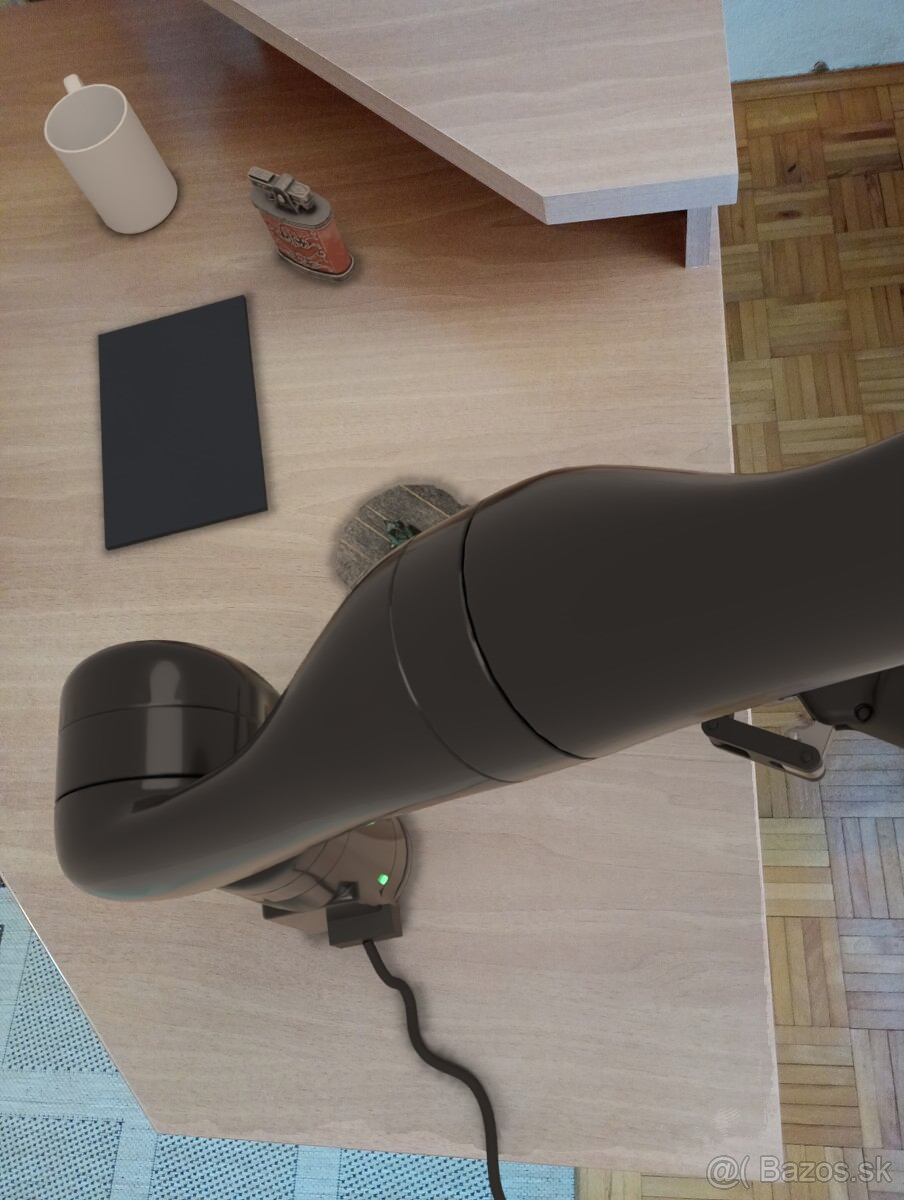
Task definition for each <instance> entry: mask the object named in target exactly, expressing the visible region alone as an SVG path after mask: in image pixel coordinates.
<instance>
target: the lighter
mask: <svg viewBox="0 0 904 1200" xmlns="http://www.w3.org/2000/svg"><path fill="white" fill-rule="evenodd" d="M247 177H248V179H249V182H250V184H251V185H252V188H251V189H250V192H249V199H250V201H251V203H252V205H253V206H254V207H255V209H257V210H258V212H259V214H260V216H261V218H262V219H263V221H264V223H265V225H266V228H267V229H268V231H269V233H270V235H271V237H272V239H273V241H274V242H275V244H276V251H277V253H278V255H279V257H280V260H282V261H283V262H284V263H286V264H287V265H289V266H290V267H292V268H293V269H295V270H297V271H299V272H300V273H303V274H304V275H307V276H310V277H312V278H316V279H319V280H322V281H326V282H331V283H337V284H338V283H339V284H340V283H345V282H347V281H349V280H351V278H352V277H353V276H354V275H355V273H356V270H357V264H356V262H355V259H354V257H353V255H352V254H350V253H349V251H348V249H347V246H346V244H345V242H344V239H343V237H342V235H341V232H340V230H339V228H338V225H337V223H336V221H335V218H334V210H333V208H332V205H331V203H330V202H329V201H328V200H327V199H325V198H324V197H322V196H321V195H319V194H318V193H316V192H314V191H312V190H311V189H310V187H309V186H308V185H306V184H303V183H301V182H299V181H298V180H297V179H296V178H295V177H294V176H293V175H291V174H290V173H287V172H283V173H282V175H279V174H277V173H274V172H272V171H268V170H266V169H263V168H260V167H258V166H252V167H251V168H250V170H248V173H247Z"/></svg>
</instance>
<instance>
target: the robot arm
mask: <svg viewBox="0 0 904 1200" xmlns="http://www.w3.org/2000/svg"><path fill="white" fill-rule="evenodd" d="M797 701H800V703H801V704H802V706H803V707H804V709H805V710H806V711H807V713H808V715H809V716H810V718H811V720H812V721H813V723H812V724H811V725H809V726H808V727H804V728H803V727H802V728H801V727H791V728H788V729H787V730H785V732H784V733H783V735H781V734H778V733H776V732H773V731H770V730H766V729H764V728H761V727H758V726H754V725H752V724H749V723H746V722H744V721H740V720H737V719H735V713H738V712H741V711H745V710H749V709H753V708H758V707H763V708H771V707H777V706H780V705H781V706H782V705H784V704H788V703H793V702H797ZM58 711H59V713H58V728H57V743H56V744H57V745H56V746H57V748H56V764H55V765H56V768H55V782H54V783H55V784H54V785H55V786H54V806H53V810H54V812H53V838H54V839H53V840H54V847H55V852H56V856H57V861H58V864H59V866H60V869H61V871H62V873H63V874H64V876H65V878H67V879H68V880H69V881H70V882H71V884H73V886H75V887H76V888H77V889H79V890H80V891H82V892H84V893H86V894H88V895H90V896H94V897H97V898H99V899H101V900H106V901H110V902H111V901H112V902H117V903H118V902H119V903H129V904H130V903H154V902H161V901H163V902H164V901H170V900H175V899H181V898H185V897H190V896H195V895H198V894H202V893H205V892H209V891H212V890H218V891H222V892H224V893H228V894H231V895H233V896H237V897H240V898H242V899H246V900H249V901H252V902H255V903H258V904H260V905H261V914H262V918H263V919H264V920H265V921H267V922H270V923H273V924H277V925H281V926H285V927H287V928H291V929H294V930H297V931H300V932H304V933H308V934H310V935H318V934H324V933H327V935H328V944H329V946H330V947H334V948H337V949H345V948H351V947H357V946H361V945H362V947H363V948H364V950H365V953H366V955H367V958H368V959H369V961H370V964H371V966H372V968H373V969H374V971H375V973H376V975H377V976H378V977H379V978H380V980H381V981H382V982H383V983H384V984H385V985H386V986H387V987H388V988H390V989H393V990H396V991H398V992H399V994H400V995H401V997H402V1000H403V1003H404V1008H405V1014H406V1015H405V1016H406V1017H405V1018H406V1026H407V1032H408V1036H409V1040H410V1043H411V1046H412V1047H413V1049H414V1051H415V1052H416V1054H417V1055H418V1056H419V1058H420V1059H421V1060H422V1061H424V1063H426V1064H427V1065H428V1066H430V1067H431V1068H433V1069H435V1070H436V1071H439V1072H441V1073H444V1074H446V1075H449V1076H451V1077H453V1078H455V1079H457V1080H459V1081H461V1082H462V1083H463V1084H465V1085H466V1086H467V1088H469V1090H470V1091H471V1092H472V1094H473V1096H474V1098H475V1099H476V1103H477V1104H478V1107H479V1110H480V1113H481V1117H482V1121H483V1127H484V1135H485V1136H484V1137H485V1153H486V1167H487V1176H488V1183H489V1188H490V1192H491V1195H492V1199H493V1200H507V1198H506V1195H505V1192H504V1189H503V1184H502V1181H501V1179H502V1178H501V1172H500V1161H499V1144H498V1133H497V1124H496V1119H495V1113H494V1110H493V1106H492V1103H491V1101H490V1098H489V1096H488V1094H487V1091H486V1090H485V1088H484V1086H483V1085H482V1083H481V1082H480V1080H478V1079H479V1078H477V1077H476V1076H475V1075H474V1074H473V1073H472V1072H470V1071H469V1070H468V1069H466V1068H464V1067H463V1066H460V1065H458V1064H456V1063H454V1062H451V1061H449V1060H447V1059H445V1058H441V1057H440V1056H438V1055H436V1054H435V1053H434V1052H432V1051H431V1050H430V1049H429V1048H428V1046H427V1045H426V1044H425V1042H424V1040H423V1038H422V1036H421V1031H420V1028H419V1019H418V1009H417V1003H416V999H415V996H414V993H413V991H412V989H411V986H410V985H409V984H408V983H407V982H406V981H405V980H404V979H402V978H400V977H397V976H394V975H393V974H392V973H391V972H390V971H389V969H388V968H387V966H386V964H385V963H384V960H383V959H382V956H381V955H380V952H379V950H378V947H377V946H376V944H375V943H376V942H381V941H385V940H391V939H397V938H401V937H403V936H404V934H403V933H404V932H403V926H402V918H401V912H400V907H399V906H397V905H398V902H397V901H398V899H399V898H400V896H401V895H402V893H403V891H404V889H405V887H406V885H407V882H408V879H409V876H410V873H411V868H412V867H411V866H412V858H413V857H412V856H413V855H412V844H411V843H412V842H411V838H410V836H409V832H408V830H407V827H406V825H405V823H404V820H402V818H401V817H400V816H403V815H407V814H410V813H412V812H416V811H421V810H423V809H427V808H430V807H434V806H436V805H441V804H443V803H448V802H452V801H454V800H459V799H461V798H465V797H466V798H467V797H469V796H474V795H477V794H481V793H485V792H489V791H493V790H496V789H500V788H505V787H507V786H511V785H516V784H519V783H523V782H527V781H531V780H533V779H536V778H537V779H538V778H540V777H543V776H546V775H550V774H553V773H556V772H559V771H562V770H566V769H568V768H572V767H575V766H579V765H582V764H584V763H588V762H591V761H595V760H597V759H601V758H604V757H608V756H610V755H613V754H615V753H619V752H622V751H624V750H626V749H629V748H632V747H635V746H637V745H640V744H642V743H645V742H648V741H650V740H653V739H657V738H659V737H662V736H664V735H667V734H670V733H673V732H675V731H679V730H682V729H685V728H688V727H692V726H695V725H698V724H700V729H701V730H702V732H703V734H704V735H705V736H707V738H708V739H709V742H710V743H711V745H712V746H713V747H715V748H716V749H717V750H721V751H723V752H726V753H729V754H732V755H734V756H737V757H741V758H743V759H745V760H749V761H752V762H754V763H756V764H760V765H763V766H766V767H768V768H771V769H774V770H777V771H779V772H782V773H785V774H788V775H791V776H793V777H796V778H799V779H802V780H805V781H807V782H810V783H816V782H819V781H822V779H824V777H825V775H826V773H827V767H826V764H825V760H826V758H827V755H828V753H829V750H830V747H831V745H832V742H833V740H834V736H835V734H836V732H839V731H840V732H841V731H854V732H859V733H861V734H862V733H863V734H865V735H867V736H870V737H872V738H874V739H877V740H880V741H882V742H885V743H888V744H891V745H892V746H895V747H898V748H900V749H903V750H904V430H902V431H899V432H896V433H895V434H892V435H889V436H887V437H885V438H882V439H879V440H877V441H875V442H873V443H870V444H868V445H865V446H862V447H860V448H857V449H855V450H853V451H850V452H847V453H844V454H841V455H837V456H833V457H830V458H827V459H824V460H820V461H817V462H814V463H810V464H806V465H805V464H804V465H801V466H796V467H790V468H786V469H782V470H781V469H780V470H775V471H763V472H762V471H761V472H748V473H745V472H718V471H705V470H696V469H695V470H694V469H684V468H672V467H660V466H648V465H634V464H588V465H587V464H586V465H575V466H565V467H560V468H556V469H555V468H554V469H550V470H547V471H545V472H541V473H539V474H536V475H533V476H530V477H528V478H525V479H522V480H520V481H517V482H515V483H513V484H511V485H509V486H506V487H504V488H502V489H499V490H498V491H496V492H494V493H492V494H490V495H488V496H487V497H484V498H483V499H481V500H479V501H477V502H475V503H473V504H471V505H469V507H468V508H466V509H464V510H462V511H460V512H458V513H456V514H454V515H453V516H451V517H449V518H447V519H445V520H443V521H441V522H439V523H438V524H436V525H434V526H432V527H430V528H428V529H427V530H424V531H423V532H421V533H419V534H417V535H415V536H414V537H412V538H410V539H409V540H407V541H406V542H404V543H402V544H401V545H400V546H398V547H397V548H395V549H394V550H392V551H391V552H390V553H388V554H387V555H386V556H384V557H383V558H382V559H381V560H379V561H378V562H377V563H376V564H375V565H374V566H373V567H372V568H371V569H370V570H369V571H368V572H367V573H366V574H365V576H364V577H363V578H362V579H361V580H360V582H359V583H358V584H357V585H356V586H355V587H354V589H353V590H352V589H351V591H350V592H349V593H348V595H347V596H346V597H345V598H344V600H343V601H342V602H341V603H340V605H339V606H338V607H337V609H336V610H334V613H333V614H332V616H331V617H330V618H329V620H328V621H327V623H326V624H325V626H324V627H323V628H322V631H320V633H319V635H318V636H317V637H316V639H315V641H314V642H313V644H312V645H311V648H309V650H308V652H307V653H306V655H305V656H304V658H303V660H302V661H301V664H300V665H299V667H298V668H297V670H296V671H295V672H294V674H293V676H292V678H291V679H290V681H289V682H288V684H287V685H286V687H285V689H284V690H283V692H282V693H280V692H279V691H278V690H277V689H276V688H275V687H274V686H273V685H272V684H271V683H270V682H269V681H268V680H267V679H266V678H265V677H263V676H262V675H261V674H260V673H259V672H257V671H256V670H254V669H253V668H252V667H251V666H249V665H248V664H246V663H244V662H243V661H241V660H239V659H237V658H235V657H233V656H231V655H229V654H226V653H224V652H221V651H219V650H216V649H214V648H211V647H208V646H204V645H201V644H197V643H194V642H193V643H192V642H187V641H180V640H173V639H143V640H133V641H132V640H131V641H126V642H122V643H117V644H114V645H111V646H107V647H105V648H102V649H100V650H98V651H96V652H94V653H92V654H91V655H89V656H87V657H86V658H84V659H83V660H82V661H80V662H79V663H78V664H77V665H76V666H75V667H74V668H73V669H72V670H71V672H70V673H69V674H68V676H67V677H66V679H65V681H64V683H63V686H62V688H61V693H60V699H59V710H58Z"/></svg>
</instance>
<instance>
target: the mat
mask: <svg viewBox="0 0 904 1200" xmlns="http://www.w3.org/2000/svg"><path fill="white" fill-rule="evenodd" d="M246 298H247V297H245V294H241V295H237V296H234V297H230V298H227V299H222V300H220V301H216V302H212V303H208V304H204V305H202V306H198V307H197V306H196V307H193V308H191V309H187V310H183V311H179V312H176V313H173V314H169V315H165V316H162V317H159V318H155V319H152V320H148V321H147V320H146V321H144V322H140V323H137V324H132V325H129V326H126V327H123V328H118V329H116V330H111V331H108V332H104V333H101V334H98V335H97V336H98V337H97V339H98V343H97V344H98V345H97V347H98V369H99V370H98V372H99V374H98V375H99V398H100V399H99V405H100V406H99V407H100V432H101V433H100V435H101V463H102V464H101V465H102V493H103V494H102V495H103V497H102V499H103V523H104V524H103V526H104V548H105V549H106V550H107V551H111V550H115V549H120V548H124V547H127V546H131V545H136V544H139V543H143V542H148V541H151V540H155V539H159V538H163V537H167V536H171V535H175V534H179V533H183V532H187V531H191V530H195V529H199V528H203V527H207V526H210V525H215V524H217V523H223V522H226V521H230V520H234V519H240V518H243V517H246V516H250V515H253V514H259V513H263V512H266V511H268V510H269V508H268V507H269V506H268V497H267V490H266V489H267V488H266V479H265V470H264V459H263V450H262V442H261V441H262V440H261V430H260V422H259V421H260V420H259V412H258V404H257V392H256V383H255V375H254V373H255V372H254V363H253V356H252V355H253V354H252V346H251V345H252V344H251V337H250V327H249V317H248V309H247V307H248V306H247V299H246Z"/></svg>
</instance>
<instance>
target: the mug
mask: <svg viewBox="0 0 904 1200" xmlns="http://www.w3.org/2000/svg"><path fill="white" fill-rule="evenodd" d="M63 85H64V88H65V90H66V92H67V95H65V96H63V97H62V98H61V99H60V100H59V101H58V102H57V103H56V104H54V106H53V107H52V109H51V110H50V112H48V115H47V117H46V119H45V121H44V128H43V133H44V138H45V141H46V142H47V143H48V145H49V146H50V147H51V149H52V151H53V152H54V153H55V155H56V156H57V158H58V159H59V160H60V162H61V163H62V165H63V166H64V167H65V170H67V172H68V174H69V175H70V176H71V178H72V179H73V180H74V182H75V183H76V184H77V186H78V188H79V189H80V190H81V192H82V193H83V194H84V196H85V197H86V198H87V200H88V201H89V203H90V204H91V205H92V207H93V208H94V210H95V211H96V212H97V214H98V215H99V217H100V218H101V220H102V221H103V223H104V224H105V225H106V226H107V227H108V228H109V229H111V230H112V231H114V232H116V233H119V234H123V235H133V234H134V235H136V234H141V233H144V232H146V231H149V230H151V229H153V228H155V227H156V226H158V225H160V224H161V223H162V222H163V221H164V220H165V219H166V218H167V217H168V216H169V215H170V213H171V212H172V210H173V209H174V208H175V205H176V202H177V201H178V200H177V199H178V191H179V190H178V185H177V181H176V180H175V178H174V176H173V174H172V173H171V171H170V170H169V168H168V166H167V164H166V162H165V161H164V159H163V158H162V156H161V155H160V153H159V151H158V150H157V147H156V146H155V144H154V143H153V141H152V139H151V138H150V136H149V134H148V133H147V130H146V129H145V127H144V125H143V124H142V122H141V121H140V119H139V117H138V116H137V114H136V113H135V111H134V109H133V107H132V106H131V104H130V102H129V101H128V99H127V97H126V96H125V94H124V93H123V91H122V90H120V89H119V88H117V87H115V86H113V85H110V84H106V83H94V84H90V85H89V84H88V85H85V83H84V82H83V81H82V78H80V76H79V75H78V74H76V73H71V74H70V75H68V76H66V77H64V79H63Z"/></svg>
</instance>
